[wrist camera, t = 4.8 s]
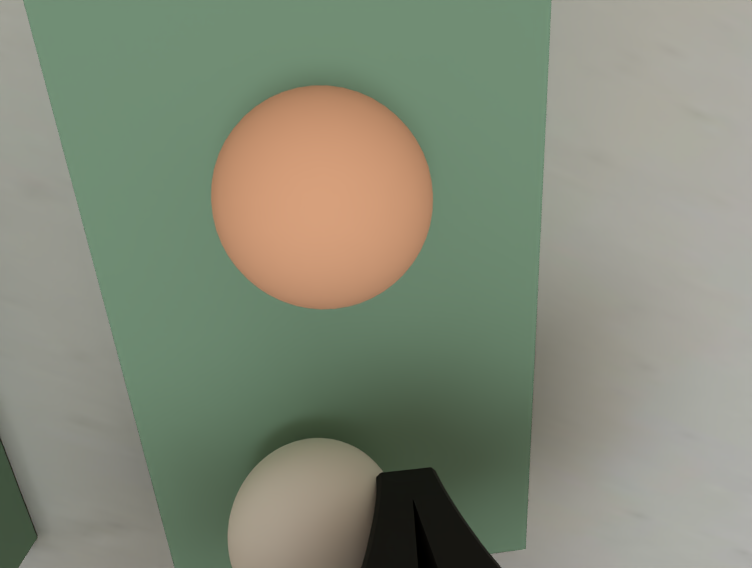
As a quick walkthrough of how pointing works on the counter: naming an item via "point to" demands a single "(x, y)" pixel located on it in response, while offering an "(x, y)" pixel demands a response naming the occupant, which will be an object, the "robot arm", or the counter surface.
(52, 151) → the counter surface
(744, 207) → the counter surface
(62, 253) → the counter surface
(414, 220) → the terracotta ball
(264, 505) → the ivory ball
